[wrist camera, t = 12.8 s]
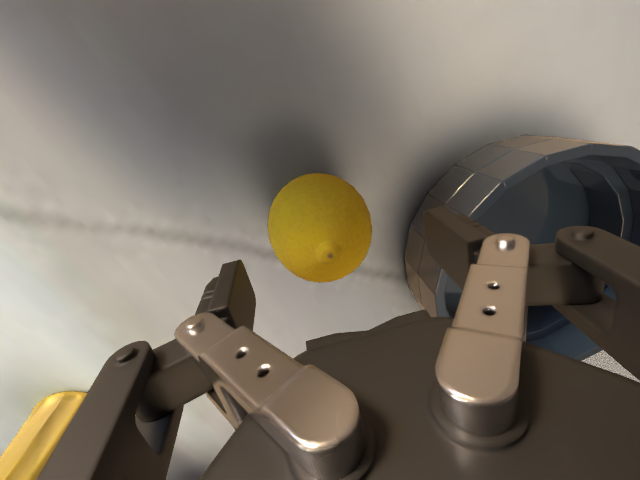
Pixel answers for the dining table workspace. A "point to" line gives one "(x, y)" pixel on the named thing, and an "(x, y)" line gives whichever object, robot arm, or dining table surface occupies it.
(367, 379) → the robot arm
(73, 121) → the dining table surface
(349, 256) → the lemon
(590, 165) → the bowl
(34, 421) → the vase
